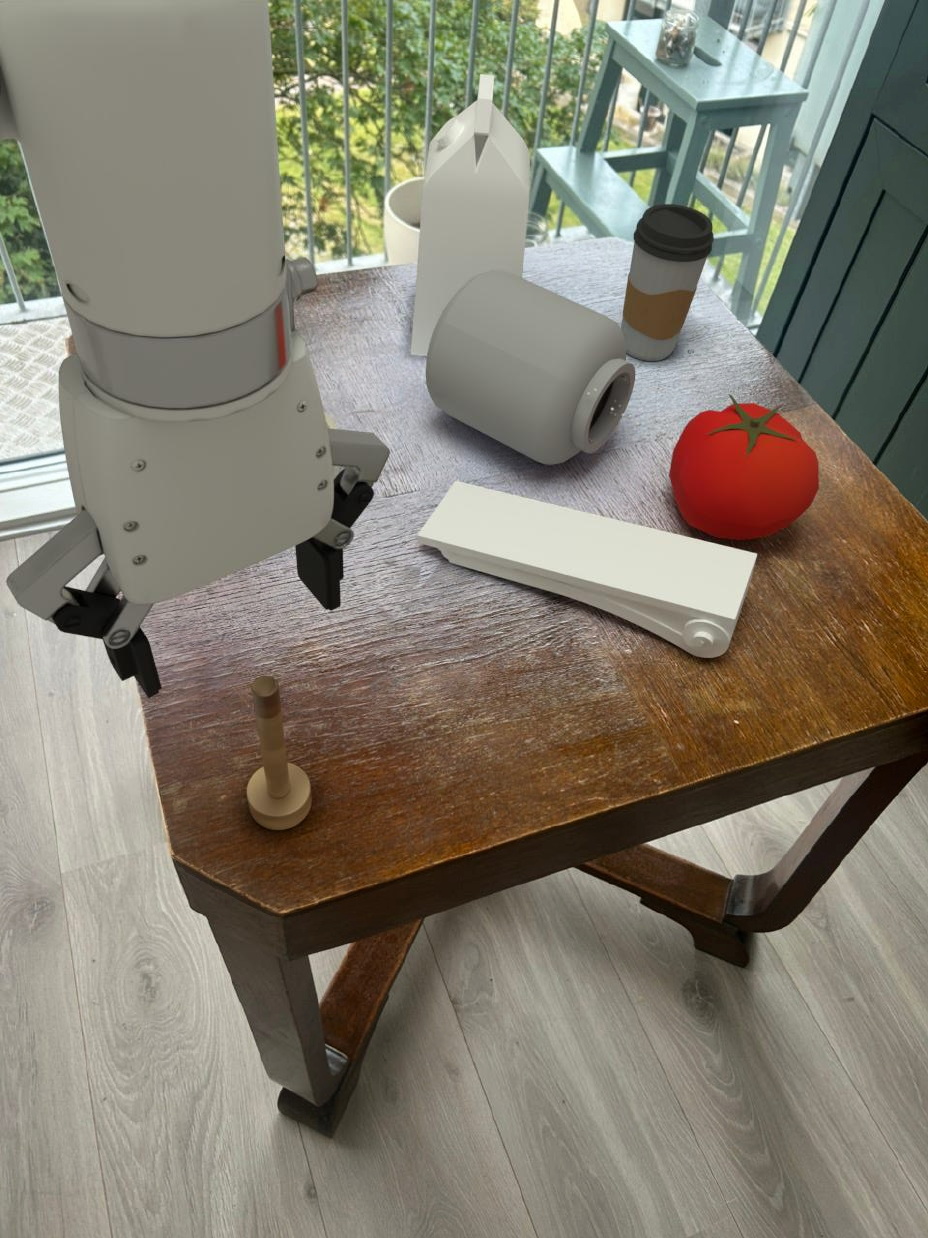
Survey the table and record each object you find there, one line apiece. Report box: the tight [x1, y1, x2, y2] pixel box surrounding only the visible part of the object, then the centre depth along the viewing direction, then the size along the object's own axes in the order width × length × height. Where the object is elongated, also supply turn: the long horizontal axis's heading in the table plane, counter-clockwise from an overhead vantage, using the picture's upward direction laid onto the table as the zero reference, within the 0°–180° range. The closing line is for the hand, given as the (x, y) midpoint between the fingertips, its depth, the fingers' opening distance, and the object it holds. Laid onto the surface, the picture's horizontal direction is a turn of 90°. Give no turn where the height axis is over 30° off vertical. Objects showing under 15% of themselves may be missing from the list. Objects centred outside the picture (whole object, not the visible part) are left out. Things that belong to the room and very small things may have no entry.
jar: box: [425, 270, 674, 466], centre depth 92 cm, size 19×15×25 cm
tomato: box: [668, 393, 820, 541], centre depth 87 cm, size 12×13×12 cm
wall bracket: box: [416, 480, 758, 659], centre depth 84 cm, size 10×7×28 cm
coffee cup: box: [620, 203, 714, 362], centre depth 104 cm, size 8×8×15 cm
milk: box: [410, 73, 531, 357], centre depth 100 cm, size 12×12×26 cm
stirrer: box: [246, 675, 313, 831], centre depth 63 cm, size 4×4×14 cm
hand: (234, 631), depth 47 cm, fingers open, 9 cm apart
